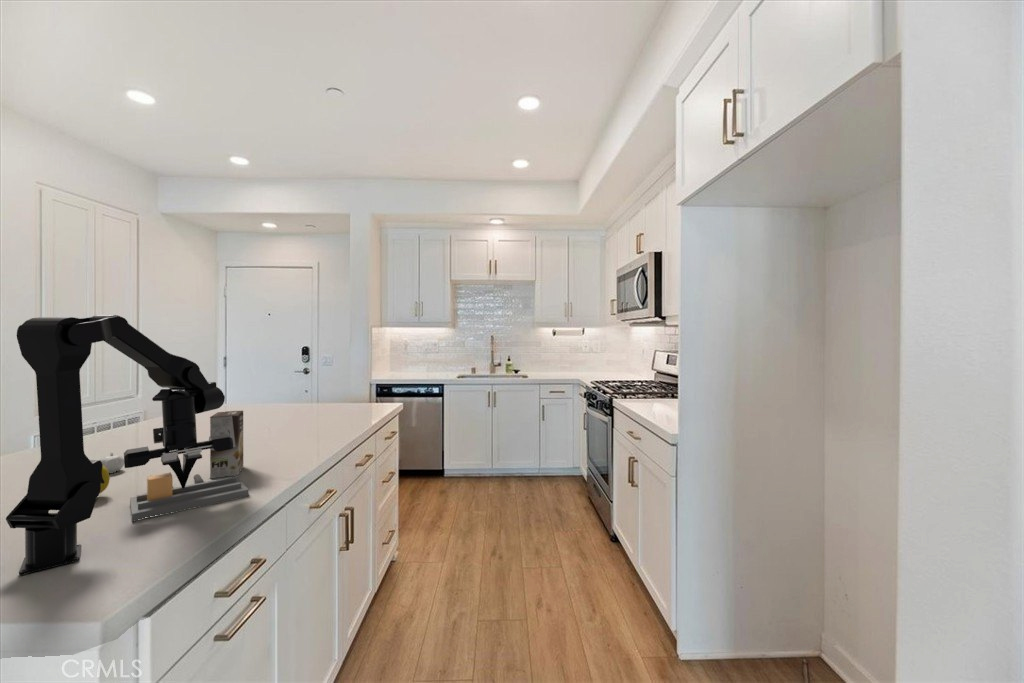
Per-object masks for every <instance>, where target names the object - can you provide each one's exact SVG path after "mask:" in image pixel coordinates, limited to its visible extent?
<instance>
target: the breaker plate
mask: <svg viewBox="0 0 1024 683" xmlns="http://www.w3.org/2000/svg"><path fill="white" fill-rule="evenodd" d="M249 494H250V493H249V488H248V487H247V486H246V485H245V484H244V483H243V481H242V480H240V479H239V477H237V476H228V477H223V478H219V479H214V480H213V479H212V480H209V481H204V482H203V483H194V484H187V485H185V488H183V489H182V486H177V487H173V488H172V496H168V497H163V498H158V499H153V500H148V501H147V492H145V493H141V494H136V496H133V497H129V507H130V508H131V509H130V516H131V522H132V521H133V522H135V521H134V520H138V519H142V518H145V517H150V516H155V515H160V514H165V515H167V514H166V513H169V514H172V513H171V512H174V513H177V512H176V511H178V512H181V511H180V510H183V511H185V510H184V509H187V510H190V509H189V508H192V509H195V508H194V507H196V508H200V507H199V506H201V507H205V506H209V505H214V504H218V502H219V503H223V502H222V501H224V502H228V501H231V499H233V500H237V499H241V498H245V497H249ZM236 498H237V499H236ZM227 500H228V501H227ZM204 505H205V506H204ZM160 516H161V515H160ZM142 520H143V519H142ZM138 521H139V520H138Z"/></svg>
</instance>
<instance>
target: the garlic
mask: <svg viewBox="0 0 1024 683" xmlns="http://www.w3.org/2000/svg"><path fill="white" fill-rule="evenodd" d="M109 454H110V455H107V456H105V457H103V458H101V459H100V458H99V460H100V461H101V462H102V465H103V466H104V467H106V468H107V470H108V472H109V473H111V474H113V473H112V472H114V473H116V471H117V472H119V471H120V470H122V469H123V468H124V456H121V455H117V454H115V455H114V452H110V453H109Z"/></svg>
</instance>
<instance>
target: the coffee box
mask: <svg viewBox="0 0 1024 683" xmlns="http://www.w3.org/2000/svg"><path fill="white" fill-rule="evenodd" d="M209 419H210V420H209V422H210V423H209V424H210V426H209V427H210V428H209V429H210V434H209V435H210V436H216V435H222V434H227V435H229V436H230V437H231V438H232V439H233V449H230V450H225V451H219V452H217V451H216V450H214V449H213V448H211V449H209V450H210V452H209V453H210V454H209V460H210V464H209V465H210V466H209V470H210V471H209V473H210V474H209V478H210V479H216V477H218V478H225V477H224V476H227V477H234V476H235V475H236V476H238V475H239V474H240V472H241V471H242V469H243V468H244V410H229V411H228V410H227V411H219V412H216V413H214V414H213V415H211V416H210V417H209ZM210 436H209V437H210ZM242 467H243V468H242ZM236 476H235V477H236Z"/></svg>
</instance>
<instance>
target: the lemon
mask: <svg viewBox="0 0 1024 683" xmlns="http://www.w3.org/2000/svg"><path fill="white" fill-rule="evenodd" d="M102 478H103V480H104V483H103V484H101V483H100V484H101V489H100V493H99V495H100V494H101V493H103V492H104V491H105V490H106V489H107V488H108V486H109V484H110V479H111V478H110V474H109V472H108V470H107V468H106V467H104V466H103V467H102Z"/></svg>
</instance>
